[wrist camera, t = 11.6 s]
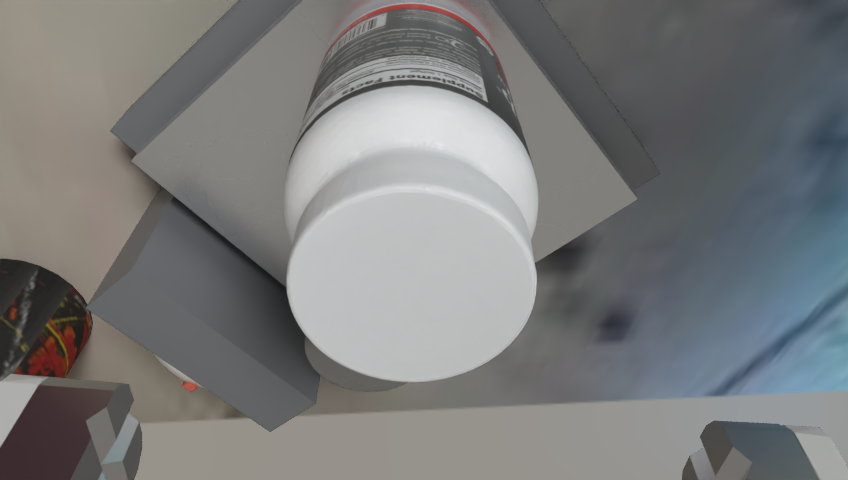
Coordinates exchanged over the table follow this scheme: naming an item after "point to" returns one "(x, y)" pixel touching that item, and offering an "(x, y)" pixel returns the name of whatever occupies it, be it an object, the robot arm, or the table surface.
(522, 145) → the pill bottle
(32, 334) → the deodorant
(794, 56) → the table surface
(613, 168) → the scale plate
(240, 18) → the base
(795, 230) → the table surface
